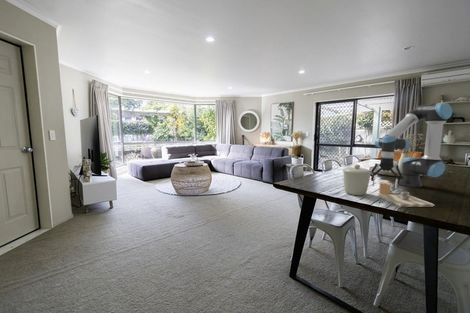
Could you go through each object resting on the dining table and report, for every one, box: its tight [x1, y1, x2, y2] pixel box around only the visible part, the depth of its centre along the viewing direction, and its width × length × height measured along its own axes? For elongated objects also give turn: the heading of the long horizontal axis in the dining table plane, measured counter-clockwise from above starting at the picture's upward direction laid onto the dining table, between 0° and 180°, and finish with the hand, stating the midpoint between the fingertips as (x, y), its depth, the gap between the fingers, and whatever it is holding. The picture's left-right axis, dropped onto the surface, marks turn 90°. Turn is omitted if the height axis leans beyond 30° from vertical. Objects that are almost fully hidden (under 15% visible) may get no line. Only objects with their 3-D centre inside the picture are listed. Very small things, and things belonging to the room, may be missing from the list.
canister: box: [342, 164, 373, 196], centre depth 156 cm, size 18×18×21 cm
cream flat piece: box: [377, 191, 435, 208], centre depth 140 cm, size 20×20×6 cm
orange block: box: [378, 181, 392, 194], centre depth 158 cm, size 8×6×7 cm
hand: (384, 186), depth 158 cm, fingers open, 13 cm apart
